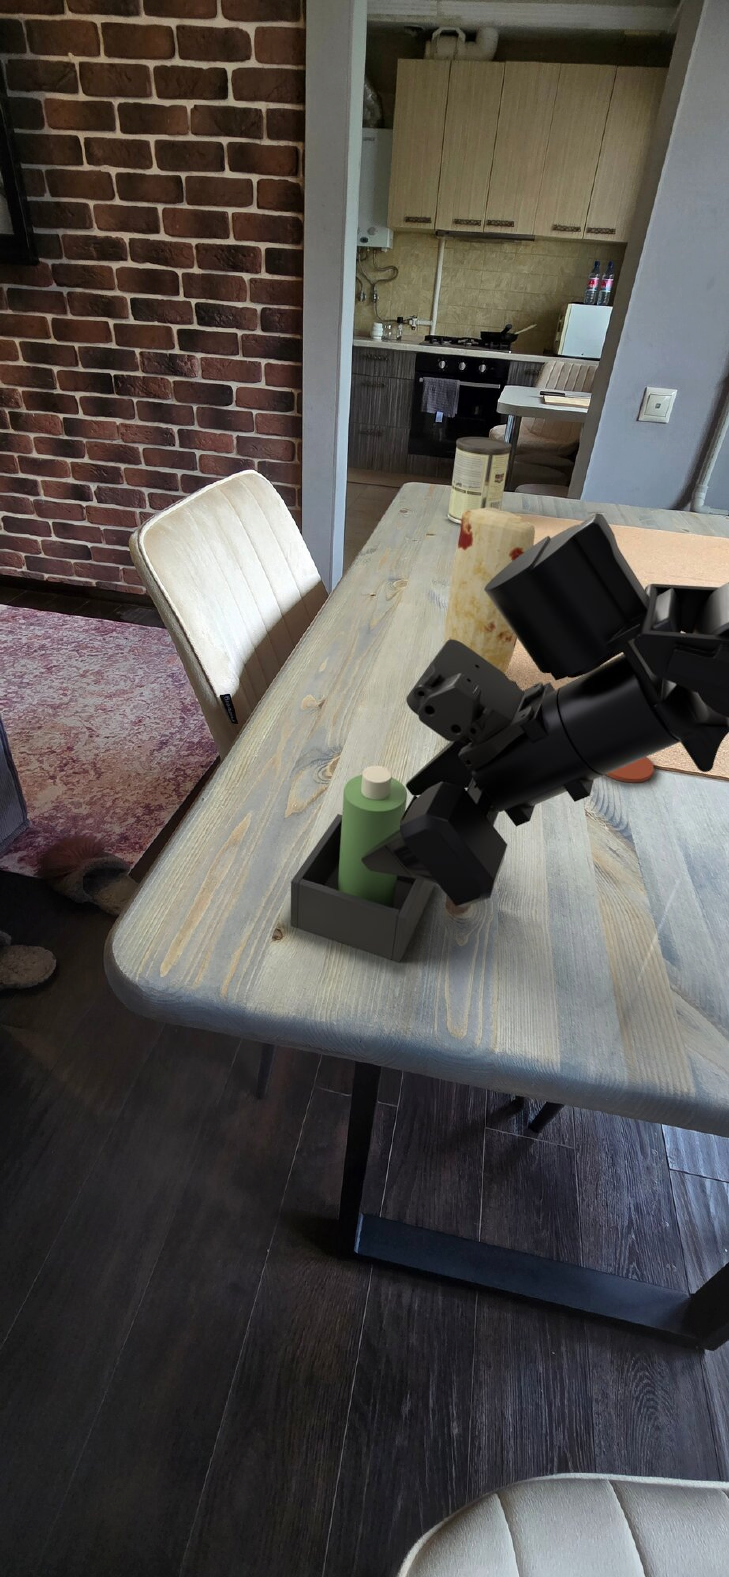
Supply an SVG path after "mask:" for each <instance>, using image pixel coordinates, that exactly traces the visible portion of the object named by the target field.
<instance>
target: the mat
mask: <svg viewBox="0 0 729 1577" xmlns="http://www.w3.org/2000/svg"><path fill="white" fill-rule="evenodd" d="M654 771H655V767H654V764H653V762H652V761H651V759H649V758H648V756H647V757H645V758H642V759H640V760H638V761H635V762H633V763H631V764H628V765H626V766H624V767H622V768H619V769H617V770H615V771H612V772H610V773H608V774H605V775H604V776H607V777H608V778H611V779H613V780H615V781H619V782H624V783H632V784H634V783H635V784H637V783H642V782H645V781H648V780H649V779H651V777H653V774H654Z"/></svg>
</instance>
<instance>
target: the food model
mask: <svg viewBox="0 0 729 1577" xmlns="http://www.w3.org/2000/svg"><path fill="white" fill-rule="evenodd" d="M535 535H536V529H535V525H534V524H533V523H531V522H529V521H525V520H523V519H522V517H521V516H519V515H518V514H517V515H516V514H515V513H512V512H510V511H506V510H502V509H500V510H499V509H496V508H490V507H486V508H481V509H476V510H468V511H465V512H464V513H463V515H462V521H461V524H460V528H459V535H458V539H457V544H456V550H455V555H454V561H453V565H452V571H451V579H450V588H449V597H448V602H447V608H446V614H445V622H444V640H443V645H444V644H445V643H446V641H447V640H450V639H453V640H457V641H459V642H461V643H463V644H464V645H466V646H467V647H469V648H470V649H471V650H473V651H474V652H475V653H477V654H478V655H480V656H481V657H482V658H484V659H485V660H487V661H488V662H489V663H491V664H492V665H493V666H495V667H496V668H498V669H499V670H500V671H502V672H503V673H504V674H505V675H506V672H507V670H508V668H509V666H510V663H511V661H512V657H513V655H514V652H515V649H516V644H517V640H518V638H517V637H516V635H515V634H514V632H513V631H512V629H511V628H510V627H509V625H508V624H507V622H506V621H505V619H504V618H503V616H502V615H501V614H500V612H499V611H498V609H497V608H496V606H495V605H494V603H493V602H492V601H491V599H490V598H489V596H488V595H487V593H486V592H485V590H484V589H485V586H486V585H487V584H488V583H489V582H490V581H491V580H492V579H493V578H494V577H495V576H496V575H497V574H498V573H499V572H500V571H501V570H503V569H504V568H505V567H506V566H507V565H509V564H510V563H511V562H512V561H514V560H515V559H516V558H517V557H519V556H520V555H521V554H523V553H524V552H525V551H527V550H528V549H529V548H531V547H532V546H534V545H535V543H534V542H535Z"/></svg>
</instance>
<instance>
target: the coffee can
mask: <svg viewBox="0 0 729 1577" xmlns="http://www.w3.org/2000/svg"><path fill="white" fill-rule="evenodd" d="M455 442H456V448H455V456H454V457H455V458H454V464H453V472H452V481H451V489H450V495H449V496H450V497H449V505H448V506H449V507H448V513H447V519H448V520H450V521H451V522H454V523H456V524H459V525H461V521H462V515H463V513H464V512H465V511H468V510H476V509H481V508H486V507H490V508H496V509H499V510H502V509H501V507H502V502H503V497H504V495H503V494H504V490H505V484H506V478H507V473H508V466H509V461H510V460H509V459H510V454H511V450H512V447H513V445H512V444H511V443H510V442H508V441H505V440H502V439H497V438H492V437H486V436H485V437H483V436H464V437H459V438H458V439H456V441H455Z"/></svg>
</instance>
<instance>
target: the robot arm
mask: <svg viewBox="0 0 729 1577" xmlns="http://www.w3.org/2000/svg"><path fill="white" fill-rule="evenodd" d="M641 583H642V582H640V580H639V578H638V577H637V575H636V574H635V572H634V570H633V569H632V567H631V566H630V564H629V562H628V561H627V559H626V557H624V555H623V553H622V551H621V549H620V548H619V545H618V543H617V539H616V536H615V533H614V531H613V529H612V528H611V526H610V525H609V522H608V521H607V520H606V518H605V517H604V514H602V513H599V512H596V513H594V514H593V515H592V516H590V517H588V518H587V519H586V520H584V521H582V522H581V523H579V524H575V525H573V526H570V527H568V528H566V529H564V530H562V531H560V532H558V533H557V534H556V535H554V536H552V537H551V536H550V535H547V536H546V537H544V538H543V539H541V540H539V541H538V542H536V543H534V545H533V546H532V547H531V548H529V549H528V550H527V551H525V552H524V553H523V554H521V555H520V556H519V557H517V558H516V559H515V560H514V561H512V562H511V563H510V564H509V565H507V566H506V567H505V568H504V569H503V570H501V571H500V572H499V573H498V574H497V575H496V576H495V577H494V578H493V579H492V580H491V581H490V582H489V583H488V584H487V585H486V586H485V589H484V590H485V592H486V593H487V595H488V596H489V598H490V599H491V601H492V602H493V603H494V605H495V606H496V608H497V609H498V611H499V612H500V614H501V615H502V616H503V618H504V619H505V621H506V622H507V624H508V625H509V627H510V628H511V629H512V631H513V632H514V634H515V635H516V637H517V640H518V641H519V643H520V644H521V646H522V647H523V648H524V650H525V651H526V653H527V654H528V656H529V657H530V658H531V660H532V661H533V663H534V664H535V666H536V667H537V669H539V671H540V673H542V674H550V675H551V676H552V677H553V679H554V681H559V680H563V679H566V678H569V679H573V680H571V681H570V682H567V683H566V684H564V685H562V686H560V687H558V688H556V689H555V688H554V686H553V684H552V683H551V682H550V681H549V682H547V683H545V684H544V683H543V682H541V681H540V682H537V683H536V684H534V685H531V686H530V687H528V688H526V689H523V690H522V689H521V688H520V686H519V685H518V683H517V682H516V681H515V680H511V679H510V678H509V677H508V676H507V675H506V673H505V674H504V673H503V672H502V671H500V670H499V669H498V668H496V667H495V666H493V665H492V664H491V663H489V662H488V661H487V660H485V659H484V658H482V657H481V656H480V655H478V654H477V653H475V652H474V651H473V650H471V649H470V648H469V647H467V646H466V645H464V644H463V643H461V642H459V641H457V640H453V639H450V640H447V641H446V643H445V644H444V643H443V645H442V647H441V648H440V649H439V651H438V652H437V654H436V655H434V658H433V659H432V661H431V662H430V663H429V665H428V666H427V667H426V669H425V671H424V672H423V673H422V674H421V676H420V678H419V679H418V680H417V682H416V683H415V684H414V686H413V687H412V689H411V690H410V691H409V693H408V694H407V695H406V698H405V700H406V704H407V706H408V708H409V709H410V710H411V711H412V712H413V713H414V714H415V715H416V716H418V720H419V721H420V722H421V723H422V724H423V725H425V726H426V727H428V728H429V729H430V730H431V731H433V732H434V733H436V734H437V735H438V736H440V737H442V739H444V740H445V741H447V742H448V743H447V744H446V745H445V746H444V747H443V748H442V749H441V750H440V751H439V752H438V753H437V754H435V755H434V756H433V757H432V758H431V759H430V760H428V762H427V763H426V764H425V765H424V766H423V767H422V768H421V769H419V770H418V771H417V773H415V774H414V775H413V776H412V777H411V778H410V779H409V780H408V781H407V782H406V784H405V789H406V790H407V791H408V792H409V793H410V795H412V796H413V797H412V799H411V800H410V802H409V803H408V805H407V806H406V809H405V812H404V814H403V816H402V818H401V820H400V825H399V827H400V829H399V830H398V831H396V832H395V833H393V834H392V835H390V836H389V837H388V838H386V839H385V840H383V841H382V842H380V843H379V844H378V845H376V846H375V847H374V848H372V849H371V850H370V851H368V852H367V853H366V854H365V855H363V857H362V859H361V861H362V862H363V864H364V865H365V866H366V867H367V868H368V869H369V870H370V871H373V872H380V873H386V874H392V875H398V876H404V877H410V878H416V879H421V880H425V881H429V882H433V883H435V884H437V885H438V886H439V887H440V889H441V890H442V891H443V893H445V895H446V896H447V897H448V899H449V900H450V901H451V902H452V903H453V904H454V906H455V907H459V908H466V907H468V906H471V905H474V904H478V903H479V902H482V901H485V900H488V899H491V897H492V894H493V891H494V889H495V886H496V883H497V880H498V879H499V878H498V877H499V875H500V872H501V869H502V866H503V863H504V860H505V857H506V852H507V848H508V843H507V842H506V841H505V839H504V837H502V835H501V834H500V832H498V830H497V829H496V827H495V823H496V820H497V818H498V815H499V813H502V812H505V814H506V815H507V816H508V818H509V819H510V821H511V822H512V823H513V824H514V826H515V827H519V826H521V825H524V824H526V823H528V822H530V821H531V819H532V816H533V813H534V810H535V807H536V806H537V805H538V804H541V803H543V802H545V801H548V800H550V799H552V798H555V797H557V796H559V795H562V794H565V793H568V795H569V797H570V798H571V799H572V801H573V802H574V803H576V802H578V801H580V800H583V799H585V798H588V797H590V796H591V794H592V789H593V784H594V780H596V779H598V778H601V777H604V776H606V775H605V774H608V773H610V772H612V771H615V770H617V769H619V768H622V767H624V766H626V765H628V764H631V763H633V762H635V761H638V760H640V759H642V758H645V757H647V758H648V757H649V756H652V755H654V754H657V753H659V752H661V751H663V750H665V749H668V748H670V747H672V746H674V745H677V744H679V743H680V744H681V745H682V747H683V748H684V750H685V751H686V753H687V754H688V756H689V757H690V759H691V760H692V762H693V763H694V764H695V766H696V768H697V769H698V771H700V772H702V773H708V772H711V771H712V770H713V768H714V766H715V759H716V757H717V753H718V751H719V749H720V746H721V744H722V743H723V741H724V739H725V738H726V737H727V735H728V734H729V582H727V583H725V584H723V585H721V586H703V585H702V586H701V585H684V584H683V585H682V584H667V583H666V584H663V583H650V584H647V585H646V586H645V588H644V586H643V585H642V584H641ZM574 678H576V679H574Z"/></svg>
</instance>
